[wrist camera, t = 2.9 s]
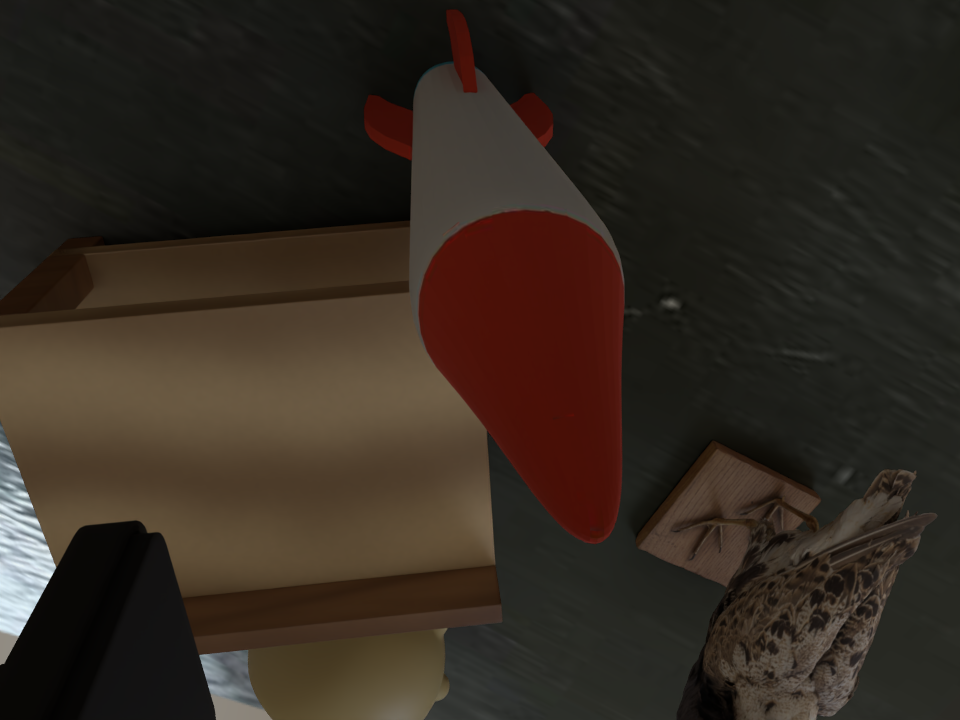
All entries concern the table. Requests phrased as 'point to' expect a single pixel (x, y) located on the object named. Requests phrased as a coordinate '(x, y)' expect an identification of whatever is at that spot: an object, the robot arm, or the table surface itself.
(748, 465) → the stuffed bird
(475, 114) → the toy rocket
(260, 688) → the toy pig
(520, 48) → the table surface
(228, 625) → the rack
